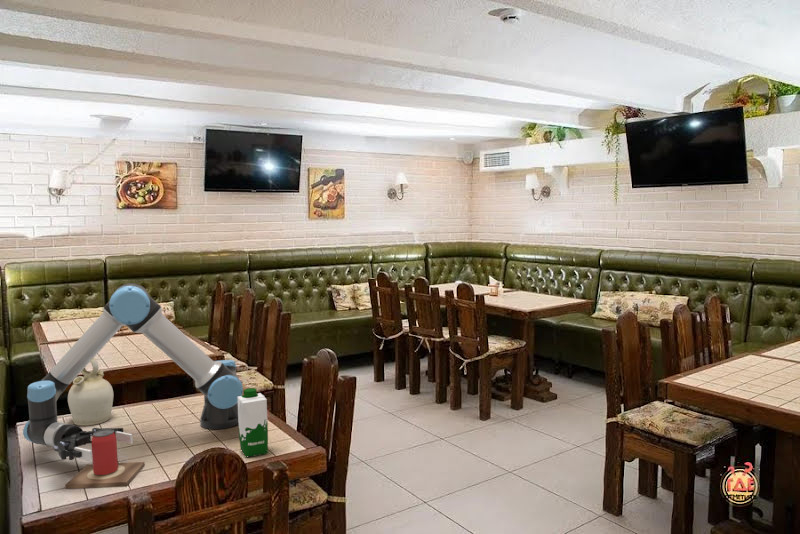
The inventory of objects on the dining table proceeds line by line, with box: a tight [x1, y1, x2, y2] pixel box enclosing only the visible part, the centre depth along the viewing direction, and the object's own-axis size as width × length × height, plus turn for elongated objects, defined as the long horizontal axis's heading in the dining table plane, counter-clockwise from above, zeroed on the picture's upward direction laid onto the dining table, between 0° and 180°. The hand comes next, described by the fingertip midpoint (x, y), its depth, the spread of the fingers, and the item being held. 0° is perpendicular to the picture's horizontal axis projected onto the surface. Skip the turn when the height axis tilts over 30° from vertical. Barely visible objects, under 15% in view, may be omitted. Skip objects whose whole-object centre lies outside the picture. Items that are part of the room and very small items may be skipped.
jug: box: [67, 357, 115, 427], centre depth 226 cm, size 15×16×25 cm
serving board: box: [64, 461, 145, 490], centre depth 177 cm, size 17×14×2 cm
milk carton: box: [238, 387, 269, 458], centre depth 192 cm, size 9×9×20 cm
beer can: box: [90, 429, 119, 476], centre depth 176 cm, size 7×7×12 cm
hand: (112, 447), depth 174 cm, fingers open, 13 cm apart
